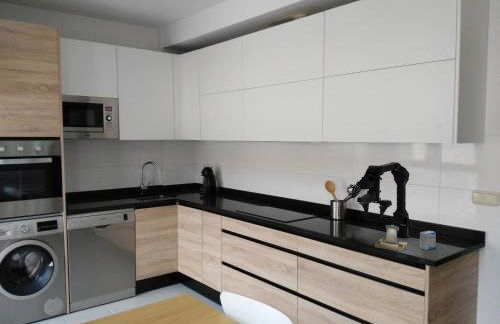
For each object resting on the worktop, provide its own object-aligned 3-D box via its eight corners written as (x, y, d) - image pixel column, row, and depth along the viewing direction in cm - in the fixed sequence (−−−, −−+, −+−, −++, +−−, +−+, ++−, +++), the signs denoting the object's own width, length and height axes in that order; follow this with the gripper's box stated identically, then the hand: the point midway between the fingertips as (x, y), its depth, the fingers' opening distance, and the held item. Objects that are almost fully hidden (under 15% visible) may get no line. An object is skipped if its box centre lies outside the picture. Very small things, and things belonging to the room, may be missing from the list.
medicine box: (427, 250, 199) (428, 233, 198) (419, 248, 202) (419, 232, 202) (435, 248, 203) (436, 231, 203) (427, 246, 207) (427, 230, 207)
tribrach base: (381, 242, 214) (381, 233, 214) (407, 246, 206) (408, 236, 206) (374, 246, 204) (375, 237, 204) (402, 251, 197) (402, 241, 196)
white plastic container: (386, 241, 208) (387, 225, 210) (397, 242, 204) (399, 226, 206) (383, 239, 204) (385, 223, 206) (395, 241, 200) (397, 225, 202)
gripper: (350, 187, 212) (350, 215, 213) (380, 191, 197) (379, 221, 198) (363, 186, 219) (362, 213, 220) (392, 190, 204) (392, 219, 205)
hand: (373, 217), depth 210 cm, fingers open, 9 cm apart
